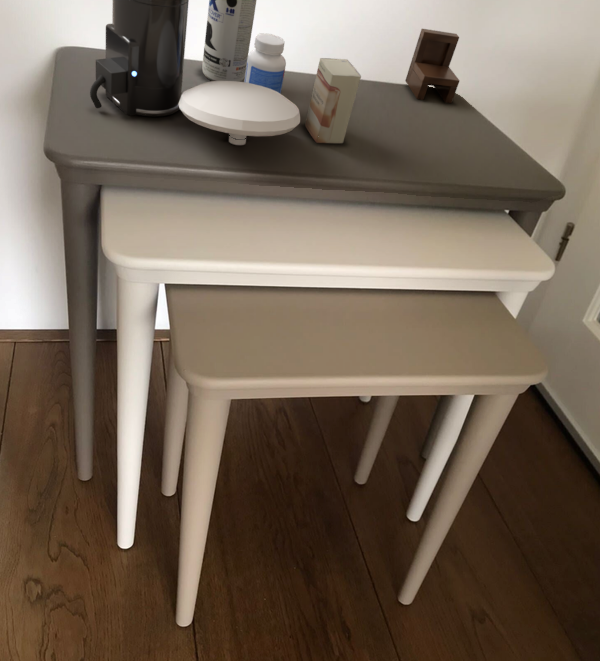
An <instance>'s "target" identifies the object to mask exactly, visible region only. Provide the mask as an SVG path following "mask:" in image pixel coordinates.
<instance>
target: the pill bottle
mask: <svg viewBox="0 0 600 661" xmlns="http://www.w3.org/2000/svg"><path fill="white" fill-rule="evenodd" d="M253 46H254V49H253V50H251V51H249V53H248V59H247V66H246V73H245V77H244V80H243V82H245V83H251V84H255V85H259V86H263V87H266V88H269V89H272V90H274V91H277V92H278V93H280V94H281V95H282V88H283V83H284V78H285V73H286V66H287V62H286V59H285V56H283V53H284V50H285V39H283V38H282V37H280V36H278V35H276V34H272V33H265V32H263V33H258V34H256V35H255V38H254V45H253Z"/></svg>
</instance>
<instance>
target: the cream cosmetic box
mask: <svg viewBox="0 0 600 661" xmlns="http://www.w3.org/2000/svg"><path fill="white" fill-rule="evenodd" d="M315 75H316V76H315V79H314V84H313V88H312V92H311V97H310V100H309V101H310V102H309V105H308V111H307V114H306V119H305V124H304V126H305V128H306V130H307V131H308V132H309V135H310V137H311V138H312V139H313V140H314V142H315V143H317V144H343V143H344V141H345V137H346V133H347V130H348V126H349V122H350V118H351V115H352V111H353V108H354V104H355V100H356V96H357V93H358V89H359V85H360V82H361V78H362V75H361V74H360V72H359V71H358V70H357V68H356V67H355V66H354V65H353V63H352V62H350V60H349V59H348V58H330V57H320V58H319V62H318V66H317V70H316V74H315ZM318 136H319V137H318Z"/></svg>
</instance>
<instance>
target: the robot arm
mask: <svg viewBox="0 0 600 661" xmlns="http://www.w3.org/2000/svg"><path fill="white" fill-rule="evenodd" d="M189 1H190V0H112V14H111V16H112V19H111V21H112V22H111V23H107V24H106V25H105V58H97V59H95V81H94V82H93V83H92V84H91V87H90V89H89V96H90V99H91V101H92V103H93V105H94V107H95V108H96V109H101V108H102V103H101V101H100V99H99V97H98V90H99V89H100V87H102V89H104V90H105V91H104V92H105V93H104V94H105V96H106V98H108V99H109V100H110V101H111V102H112V103H113V104H114V105H116V106H117V107H118V108H119V109H120V110H122V111H123V113H125V114H126V115H127V116H134V115H137V116H143V117H165V116H170V115H173V114H175V113H177V112H178V111H179V110H180V108H179V104H178V103H179V101H180V98H181V95H182V89H183V80H184V79H183V77H184V66H185V65H184V64H185V52H186V38H187V27H188V16H189V5H190V4H189V3H190V2H189Z"/></svg>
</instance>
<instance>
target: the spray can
mask: <svg viewBox="0 0 600 661" xmlns="http://www.w3.org/2000/svg"><path fill="white" fill-rule="evenodd" d="M256 6H257V0H209V1H208V9H207V17H206V18H207V19H206V29H205V38H204V46H203V56H202V64H201V65H202V66H201V68H202V69H201V70H202V74H203V75H204V76H205V78H207V79H208V80H210V82H211V81H237V82H244V80H245V73H246V66H247V59H248V55H249V53H250V45H251V40H252V32H253V26H254V20H255V13H256Z"/></svg>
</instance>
